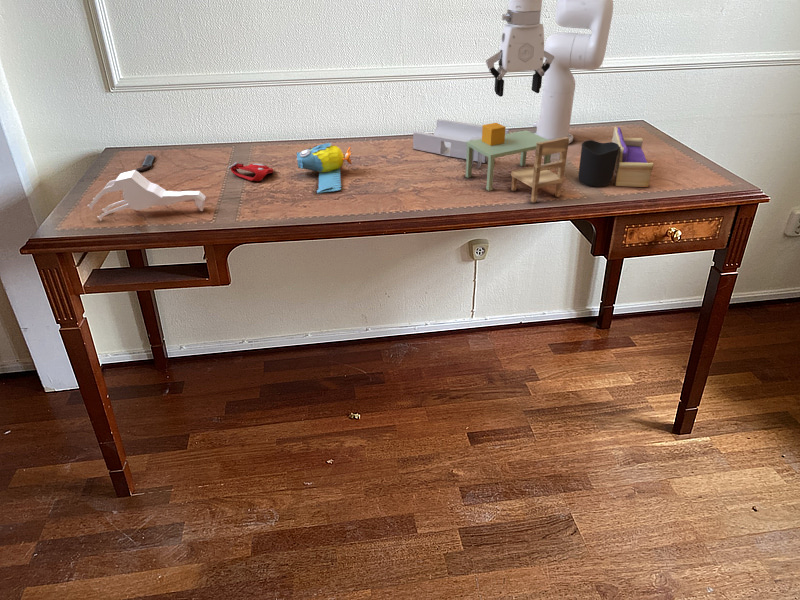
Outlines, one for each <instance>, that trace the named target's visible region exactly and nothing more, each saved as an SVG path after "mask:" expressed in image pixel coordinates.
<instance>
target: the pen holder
mask: <svg viewBox="0 0 800 600" xmlns="http://www.w3.org/2000/svg"><path fill="white" fill-rule="evenodd" d="M580 150H581V151H580V157H579V168H578V178H577V179H578V181H579V182H580V183H581V184H582V185H585V186H586V187H594V188H601V187H602V188H603V187H606V186H608V185H610V184H612V180H613V176H614V172H615V164H616V159H617V155H618V150H619V145H618V144H616V143H613V142H612V141H610V142H609V141H608V142H598V141H596V140H593V139H588V140H584V141H582V142H581V149H580Z"/></svg>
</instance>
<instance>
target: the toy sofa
mask: <svg viewBox="0 0 800 600" xmlns="http://www.w3.org/2000/svg"><path fill="white" fill-rule="evenodd" d="M611 142H613V143H616V144H618V145H619V150H618V155H617V159H616V164H615V168H614V170H615V173H616V177H615V182H614V183H615V184H614V186H615V187H634V188H648V187H649V186H650V185H649V184H650V181H651V176H652V170H653V168H654V163H653V162H648V161H647V158H646V155H645V152H644V151H643V149H642V147H643V143H644V138H642V137H624V135H623V132H622V129H621V127H619V126H614V128H613V133H612V138H611Z"/></svg>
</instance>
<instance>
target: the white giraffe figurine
mask: <svg viewBox="0 0 800 600" xmlns="http://www.w3.org/2000/svg"><path fill="white" fill-rule="evenodd" d="M121 191H122V195H121V198H122V199H123V200H119V201H116V202H114V203H111V204H109V205H106V207H105V208H102V209H101V211H103V213H101V214H100V215H97V216H96V218H97V219H98V220H99V221H100V222H102V220H103V218H104V217H105V216H107V215H110V214H112V213H116V212H121V211H123V210H125V209H128V210H129V209H130V210H132V211H133V210H134V211H137V212H138V211H139V212H140V211H143V210H146V209H150V208H152V207H155V206H158V207H159V206H160V207H163V206H172V205H176V204H178V203H181V202H185V201H190V200H194V205H195V207H196V208H197V209H198V210H199V211H200V212H203V211H204V208H205V201H206V198H207V196H206V195H205V194H204V193H203V192H202V191H200V190H182V191H181V190H180V191H178V190H175V191H174V190H166V188H164V187H161V185H159V184H157V183H154V182H151V181H150V180H149V179H148V178H146V177H145V176H144V175H143V174H142V173H140V172H138V171H136V169H133V170H129V171H124V172H121V173H119V175H118V176H117V177H116V179H113V180H112V179H111V180H109V181H108V182H107V184H106V185H105V186H104V187H103V188H102V189H101V190H100V191H99V192H98V193H97V194H96V195H95V196H94V197H92V200H91V202H90V203H89V204H87V207H88V208H89V209H90V210H91V211H92V210H93V208H94V206H95V204H97V203H98V201H99V200H100V199H101V198H102V197H103V196H104V195H105V194H107V193H114V192H121ZM120 205H121V206H120ZM117 206H118V207H117ZM113 207H115V208H113ZM111 208H112V209H111Z"/></svg>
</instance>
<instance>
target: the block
mask: <svg viewBox="0 0 800 600" xmlns="http://www.w3.org/2000/svg"><path fill="white" fill-rule="evenodd" d="M482 126H483V127H482V142H484V143H486V144H488V145H490V146H492V145H497V144H502V143H504V141H505V129H506V126H505V125H502V124H500V123H498V122H493V123H492V122H491V123H486V124H482Z"/></svg>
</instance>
